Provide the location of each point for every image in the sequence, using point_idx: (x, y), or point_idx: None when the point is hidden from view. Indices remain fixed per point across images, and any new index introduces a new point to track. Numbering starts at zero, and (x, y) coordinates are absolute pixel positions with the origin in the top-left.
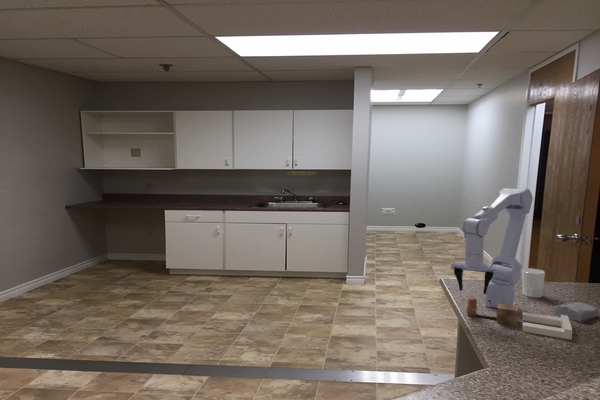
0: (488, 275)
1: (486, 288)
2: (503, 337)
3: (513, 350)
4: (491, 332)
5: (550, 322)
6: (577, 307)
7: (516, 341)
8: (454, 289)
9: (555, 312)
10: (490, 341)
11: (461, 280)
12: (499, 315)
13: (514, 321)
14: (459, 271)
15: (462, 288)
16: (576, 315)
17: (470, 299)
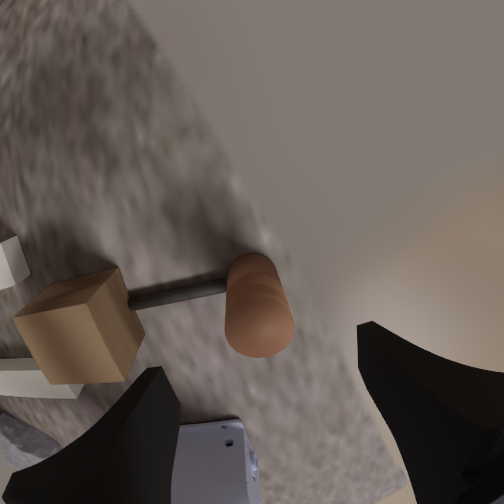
0: (18, 500)
1: (120, 398)
2: (45, 103)
3: (11, 28)
4: (93, 114)
5: (5, 363)
6: (5, 449)
7: (7, 109)
8: (379, 464)
9: (56, 445)
10: (80, 21)
11: (406, 396)
12: (93, 285)
13: (49, 290)
14: (493, 461)
15: (360, 372)
16: (1, 424)
17: (267, 310)
